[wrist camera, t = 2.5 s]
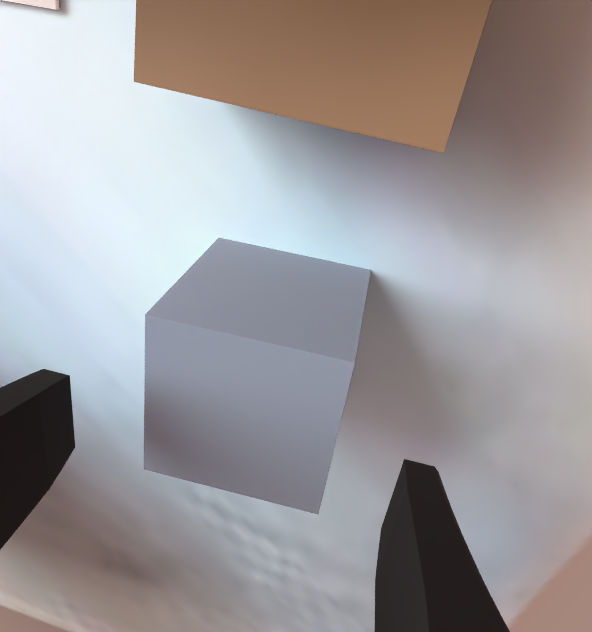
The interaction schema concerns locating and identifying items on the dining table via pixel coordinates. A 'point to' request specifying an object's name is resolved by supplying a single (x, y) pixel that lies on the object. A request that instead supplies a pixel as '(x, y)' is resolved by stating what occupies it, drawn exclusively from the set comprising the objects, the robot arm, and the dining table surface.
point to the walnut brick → (319, 59)
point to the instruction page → (39, 3)
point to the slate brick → (252, 371)
